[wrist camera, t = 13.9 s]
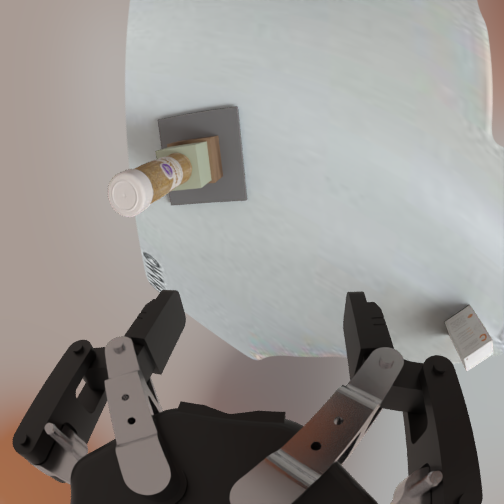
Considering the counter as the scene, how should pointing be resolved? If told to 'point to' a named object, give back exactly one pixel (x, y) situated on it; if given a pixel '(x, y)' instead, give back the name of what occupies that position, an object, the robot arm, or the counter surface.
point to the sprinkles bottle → (147, 183)
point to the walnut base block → (212, 153)
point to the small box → (469, 337)
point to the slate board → (229, 135)
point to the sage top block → (192, 163)
